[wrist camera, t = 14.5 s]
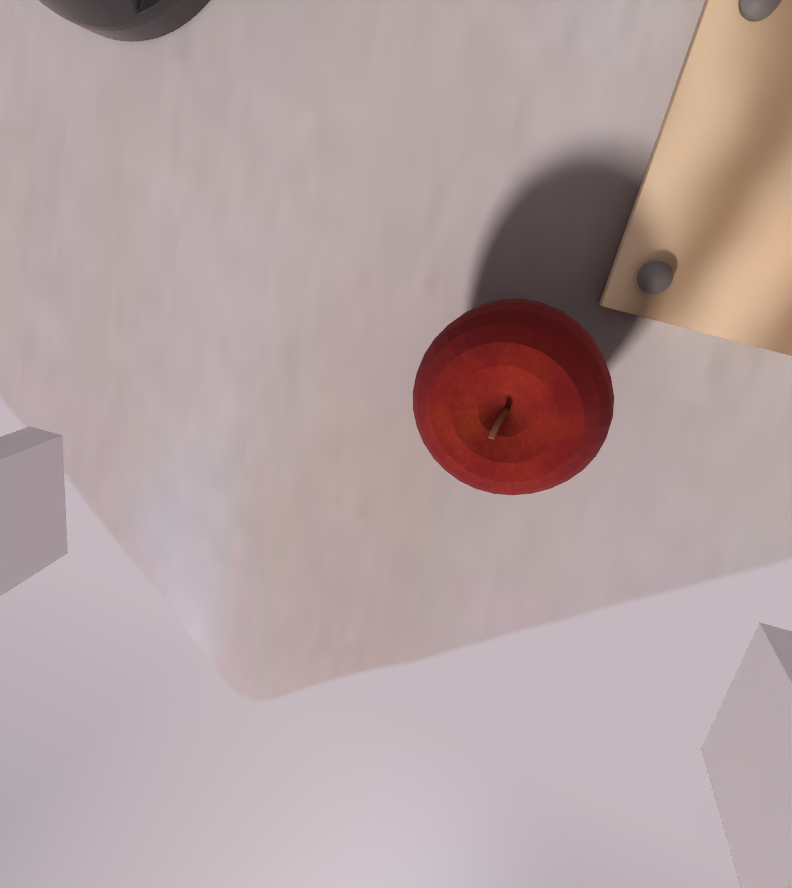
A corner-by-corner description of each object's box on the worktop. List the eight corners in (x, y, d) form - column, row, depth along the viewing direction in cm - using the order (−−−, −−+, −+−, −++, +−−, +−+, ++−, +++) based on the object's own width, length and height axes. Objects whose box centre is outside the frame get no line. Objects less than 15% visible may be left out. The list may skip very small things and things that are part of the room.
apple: (466, 270, 34) (431, 278, 25) (632, 321, 33) (661, 350, 23) (419, 421, 37) (374, 477, 28) (568, 473, 36) (571, 550, 27)
